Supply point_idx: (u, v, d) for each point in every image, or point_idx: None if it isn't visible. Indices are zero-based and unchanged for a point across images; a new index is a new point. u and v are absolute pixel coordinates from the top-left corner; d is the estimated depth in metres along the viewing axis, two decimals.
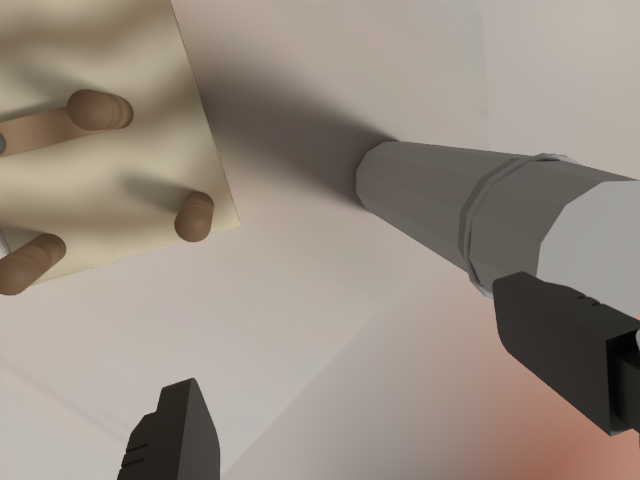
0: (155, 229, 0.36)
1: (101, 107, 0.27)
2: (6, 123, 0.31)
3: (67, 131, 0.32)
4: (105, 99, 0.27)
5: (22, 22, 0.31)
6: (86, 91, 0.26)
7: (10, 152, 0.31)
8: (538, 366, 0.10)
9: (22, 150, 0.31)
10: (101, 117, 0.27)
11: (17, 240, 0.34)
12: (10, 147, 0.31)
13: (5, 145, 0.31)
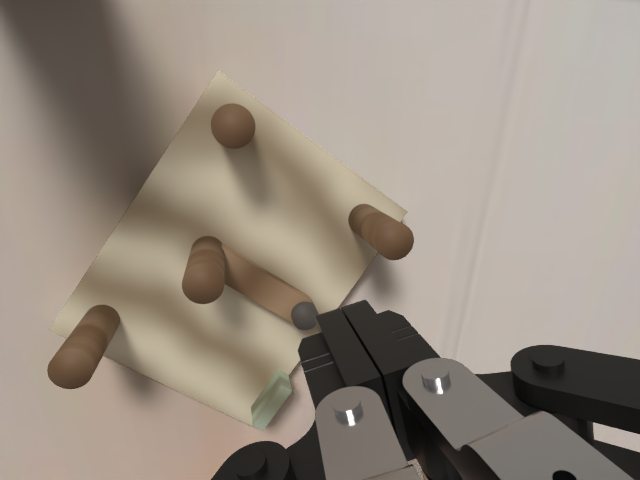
0: (284, 148, 0.32)
1: (192, 278, 0.25)
2: (280, 314, 0.33)
3: (252, 274, 0.32)
4: (183, 280, 0.25)
5: (200, 351, 0.34)
6: (189, 296, 0.26)
7: (301, 297, 0.33)
8: None
9: (293, 291, 0.33)
10: (200, 272, 0.25)
11: None
12: (297, 300, 0.33)
13: (297, 304, 0.33)
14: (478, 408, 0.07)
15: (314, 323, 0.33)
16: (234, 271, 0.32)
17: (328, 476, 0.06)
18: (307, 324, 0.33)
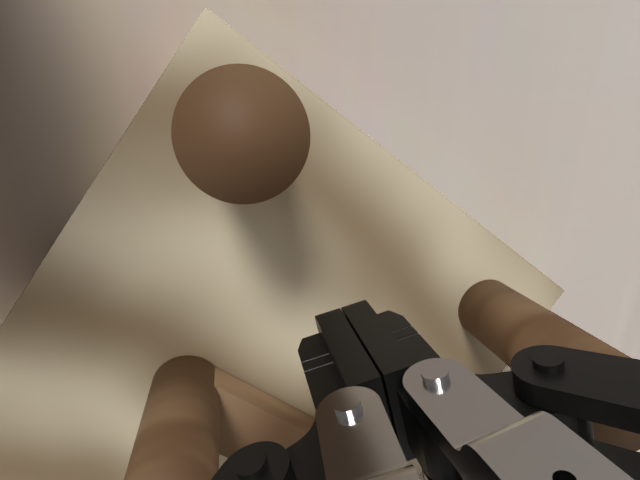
0: (343, 176, 0.15)
1: None
2: None
3: (276, 433, 0.16)
4: None
5: None
6: None
7: None
8: None
9: None
10: None
11: None
12: None
13: None
14: (478, 407, 0.07)
15: None
16: (240, 429, 0.15)
17: (328, 475, 0.06)
18: None
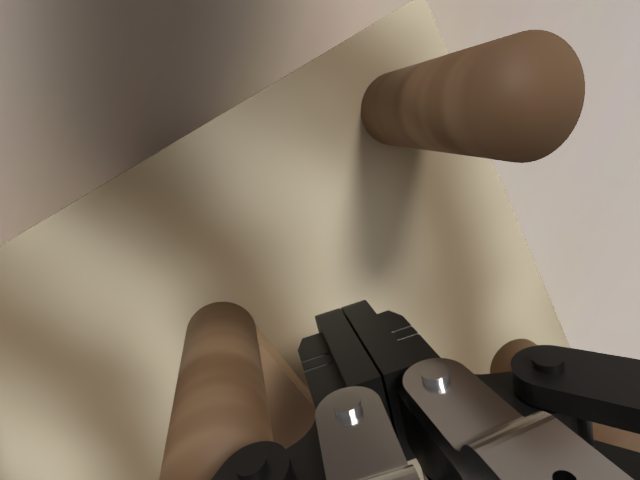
0: (460, 192, 0.16)
1: (197, 469, 0.09)
2: None
3: (294, 409, 0.15)
4: (169, 466, 0.09)
5: None
6: None
7: None
8: None
9: None
10: (226, 459, 0.09)
11: None
12: None
13: None
14: (478, 408, 0.07)
15: None
16: None
17: (328, 476, 0.06)
18: None
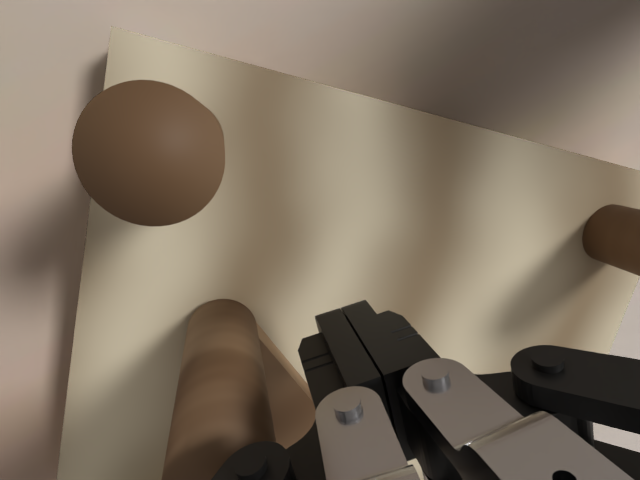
0: (591, 321, 0.19)
1: (200, 463, 0.09)
2: None
3: (294, 405, 0.16)
4: (172, 460, 0.09)
5: None
6: None
7: None
8: None
9: None
10: (229, 453, 0.09)
11: None
12: None
13: None
14: (478, 408, 0.07)
15: None
16: None
17: (328, 476, 0.06)
18: None
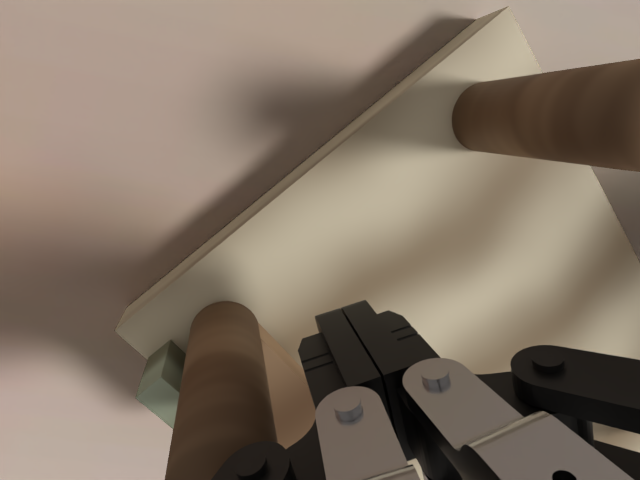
0: None
1: (200, 468, 0.09)
2: None
3: (301, 402, 0.16)
4: (172, 466, 0.09)
5: (344, 274, 0.16)
6: None
7: None
8: None
9: None
10: (228, 457, 0.09)
11: None
12: None
13: None
14: (478, 408, 0.07)
15: None
16: (269, 389, 0.15)
17: (328, 475, 0.06)
18: None
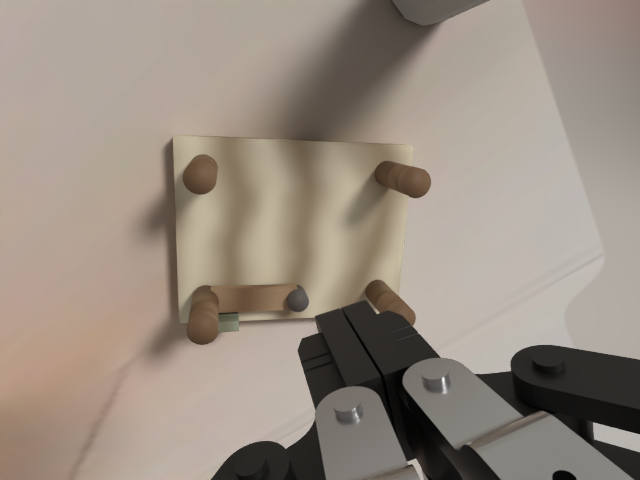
0: (391, 213, 0.43)
1: (192, 331, 0.35)
2: (281, 308, 0.42)
3: (243, 295, 0.41)
4: (188, 335, 0.35)
5: (219, 249, 0.41)
6: (199, 342, 0.35)
7: (287, 289, 0.42)
8: None
9: (279, 289, 0.41)
10: (195, 324, 0.35)
11: None
12: (286, 293, 0.42)
13: (287, 295, 0.42)
14: (478, 408, 0.07)
15: (307, 302, 0.42)
16: (229, 300, 0.41)
17: (328, 476, 0.06)
18: (302, 305, 0.42)
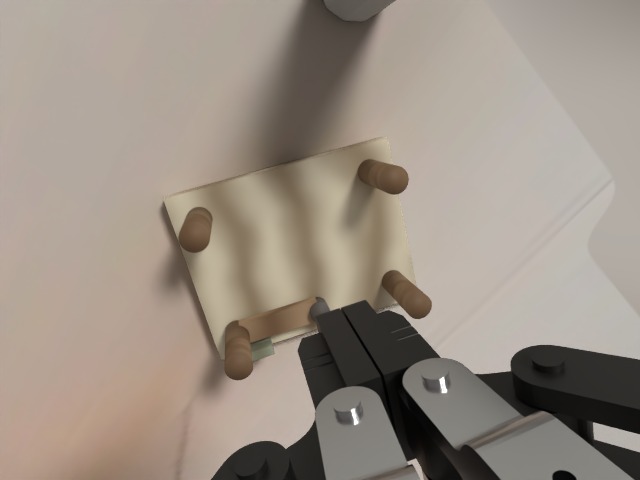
0: (385, 206, 0.45)
1: (230, 370, 0.38)
2: (307, 323, 0.45)
3: (269, 321, 0.44)
4: (227, 374, 0.38)
5: (236, 285, 0.44)
6: (239, 378, 0.38)
7: (308, 305, 0.44)
8: None
9: (300, 306, 0.44)
10: (230, 364, 0.38)
11: (385, 300, 0.47)
12: (307, 308, 0.44)
13: (309, 310, 0.44)
14: (478, 408, 0.07)
15: None
16: (258, 329, 0.44)
17: (328, 476, 0.06)
18: None
